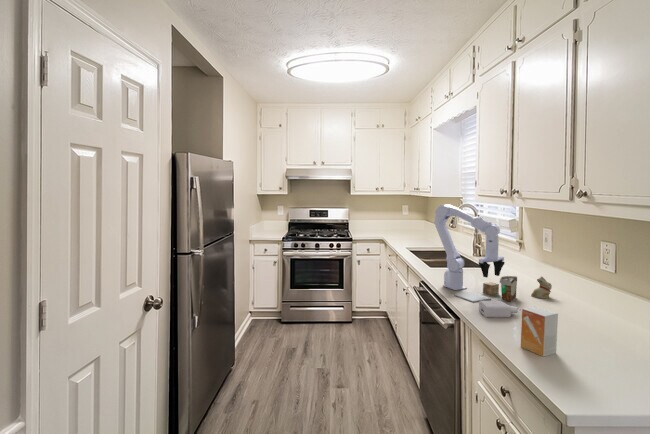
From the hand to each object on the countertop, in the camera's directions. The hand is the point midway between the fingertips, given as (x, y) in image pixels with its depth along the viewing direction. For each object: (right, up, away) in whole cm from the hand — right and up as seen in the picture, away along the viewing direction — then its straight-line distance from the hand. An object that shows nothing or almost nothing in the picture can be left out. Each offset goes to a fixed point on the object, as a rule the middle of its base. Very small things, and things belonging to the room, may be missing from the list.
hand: (491, 276), depth 184 cm
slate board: (-12, -9, -6) cm, 16 cm away
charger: (-9, -11, -30) cm, 33 cm away
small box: (-14, -14, -64) cm, 67 cm away
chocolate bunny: (+21, -9, -6) cm, 24 cm away
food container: (+3, -9, -9) cm, 13 cm away
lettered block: (0, -9, +1) cm, 9 cm away
